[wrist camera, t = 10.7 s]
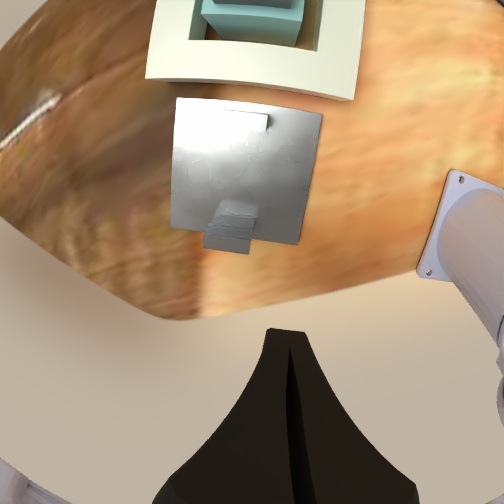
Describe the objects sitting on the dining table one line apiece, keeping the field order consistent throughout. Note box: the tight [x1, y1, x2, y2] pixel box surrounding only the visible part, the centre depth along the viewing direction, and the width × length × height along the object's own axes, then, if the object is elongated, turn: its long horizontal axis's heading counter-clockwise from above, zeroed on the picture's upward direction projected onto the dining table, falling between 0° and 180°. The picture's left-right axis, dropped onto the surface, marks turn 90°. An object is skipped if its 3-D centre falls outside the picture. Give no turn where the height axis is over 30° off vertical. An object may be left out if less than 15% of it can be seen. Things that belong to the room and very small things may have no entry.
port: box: [145, 0, 365, 101], centre depth 11 cm, size 10×10×3 cm
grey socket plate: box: [171, 98, 322, 255], centre depth 15 cm, size 8×8×4 cm
